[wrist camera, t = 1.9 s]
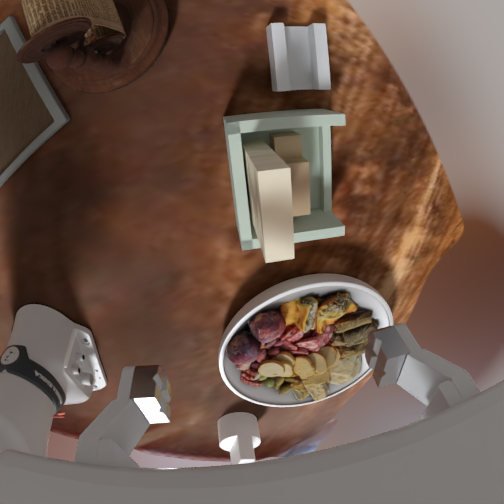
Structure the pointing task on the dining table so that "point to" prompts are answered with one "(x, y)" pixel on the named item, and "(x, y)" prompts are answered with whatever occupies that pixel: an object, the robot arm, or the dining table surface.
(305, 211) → the offcut short
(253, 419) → the base with upright slab
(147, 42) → the scroll
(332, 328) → the bowl
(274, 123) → the box
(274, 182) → the beige streaked board
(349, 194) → the dining table surface
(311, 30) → the holder
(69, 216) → the dining table surface
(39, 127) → the framed board
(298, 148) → the offcut long
